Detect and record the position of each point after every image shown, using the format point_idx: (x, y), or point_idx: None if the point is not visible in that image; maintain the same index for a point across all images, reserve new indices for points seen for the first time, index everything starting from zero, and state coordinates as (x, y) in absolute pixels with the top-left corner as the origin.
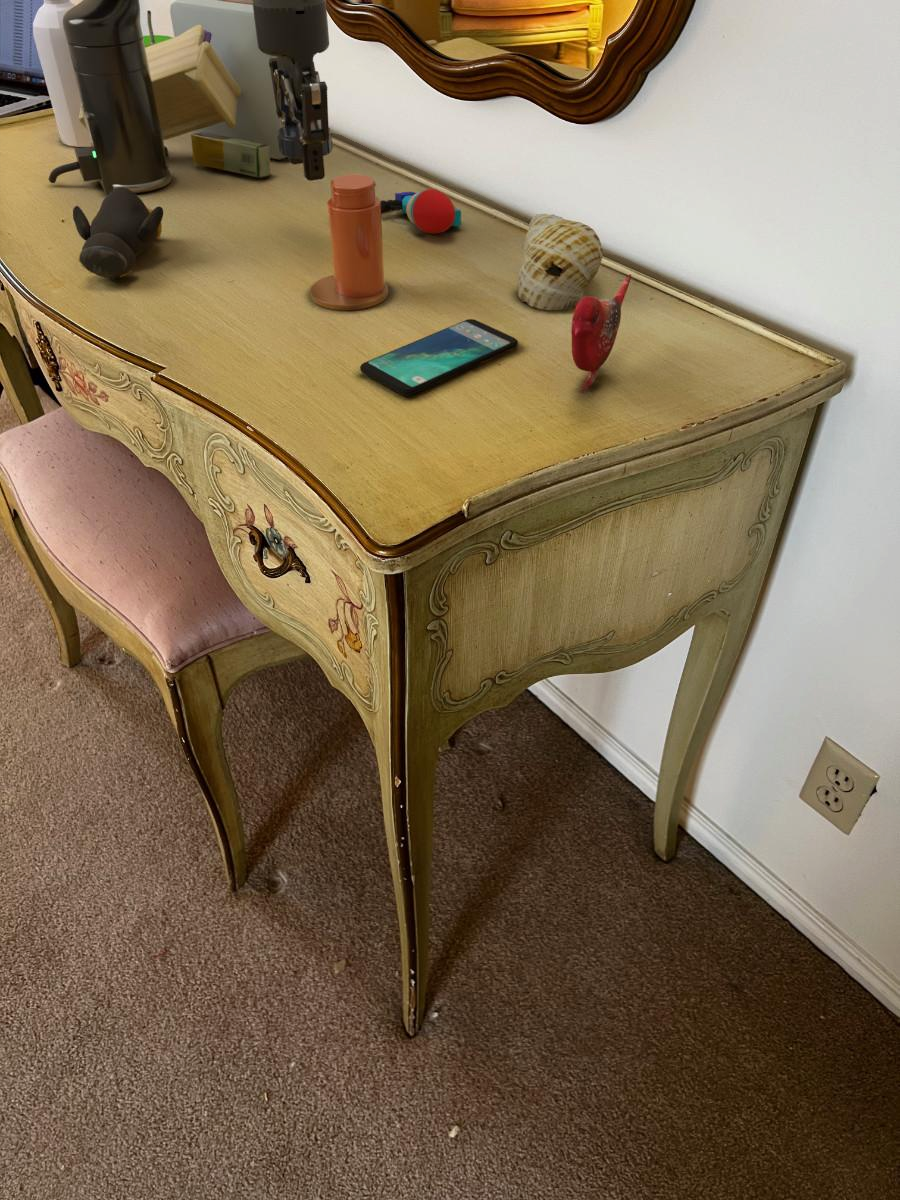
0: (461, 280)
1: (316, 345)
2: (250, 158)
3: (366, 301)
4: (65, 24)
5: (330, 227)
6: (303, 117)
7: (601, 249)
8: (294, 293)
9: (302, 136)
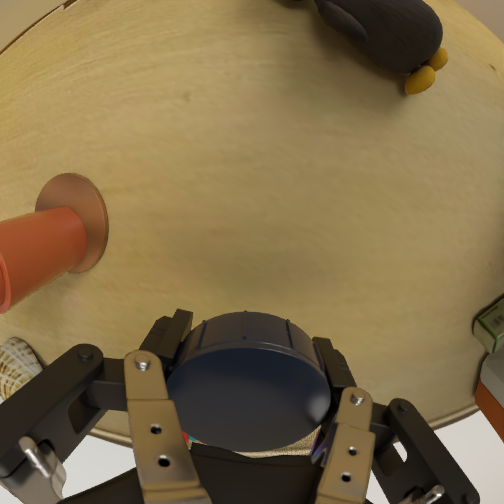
0: (63, 338)
1: (12, 138)
2: (495, 324)
3: None
4: None
5: (6, 221)
6: (57, 394)
7: None
8: (101, 161)
9: (124, 365)
